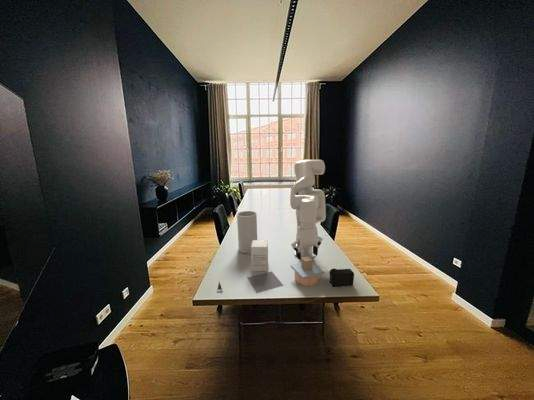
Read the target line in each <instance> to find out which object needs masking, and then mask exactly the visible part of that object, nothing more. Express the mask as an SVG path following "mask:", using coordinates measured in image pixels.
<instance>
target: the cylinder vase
mask: <svg viewBox="0 0 534 400" xmlns="http://www.w3.org/2000/svg"><path fill="white" fill-rule="evenodd" d="M257 218H258V217H257V212H256V211H252V210H243V211H240V212H238V213H237V214H236V219H237V221H236V222H237V239H238V240H237V241H238V251H239V252H240V253H242V254H251V245H252V241H253V240H258V224H257V223H258V222H257V220H258V219H257Z"/></svg>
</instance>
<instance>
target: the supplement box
mask: <svg viewBox="0 0 534 400" xmlns="http://www.w3.org/2000/svg"><path fill="white" fill-rule="evenodd" d="M268 242H269V241H268V239H267V240H266V239H262V240H261V239H259V240H258V239H257V240H253V241H252V245H251V253H250V254H251V255H250V256H251V272H269V245H268Z"/></svg>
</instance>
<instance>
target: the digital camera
mask: <svg viewBox="0 0 534 400" xmlns="http://www.w3.org/2000/svg"><path fill="white" fill-rule="evenodd" d="M354 279H355V273H354V272H353V270H352V269H351V268H342V269H341V268H340V269H338V268H331V269H330V270H329V285H330V286H331V287H332V288H343V287H342V286H345V287H354Z"/></svg>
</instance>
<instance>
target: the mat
mask: <svg viewBox="0 0 534 400" xmlns="http://www.w3.org/2000/svg"><path fill="white" fill-rule="evenodd" d="M246 279H247V280H248V281H249V283H250V285H251V286H252V288H253V290H254V291H255V293H256V294H259V293H262V292H265V291H269V290H272V289H277V288H279V287H280V288H281V287H283V286H285V285H284V284H283V283H282V282H281V281H280V279H279V278H278V277H277V276H276V275H275V273H274V272H273V271H266V272H263V273H259V274H255V275H251V276H248V277H246Z"/></svg>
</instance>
